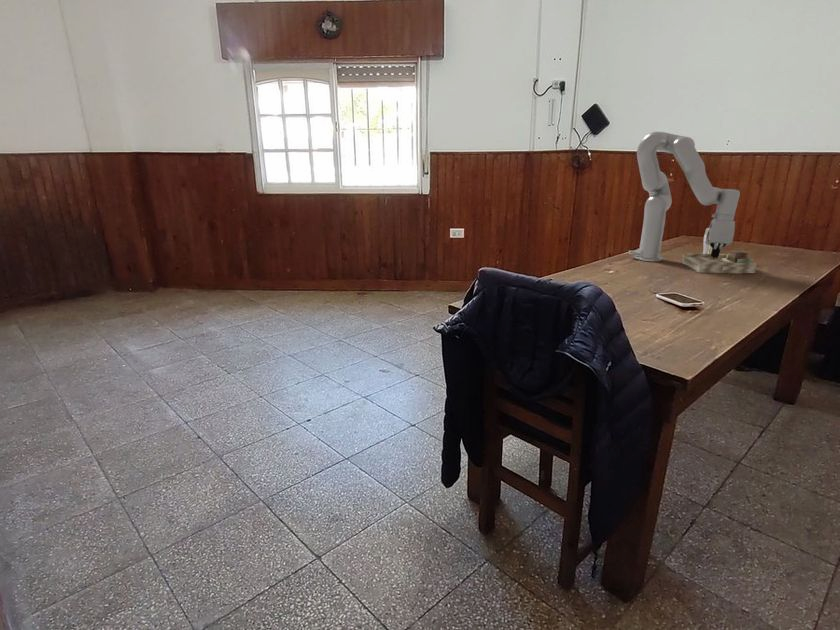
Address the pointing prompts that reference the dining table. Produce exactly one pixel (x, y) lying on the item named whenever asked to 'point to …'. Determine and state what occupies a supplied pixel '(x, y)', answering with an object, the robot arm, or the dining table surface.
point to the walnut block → (737, 255)
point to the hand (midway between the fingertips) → (714, 257)
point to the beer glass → (706, 245)
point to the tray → (717, 263)
